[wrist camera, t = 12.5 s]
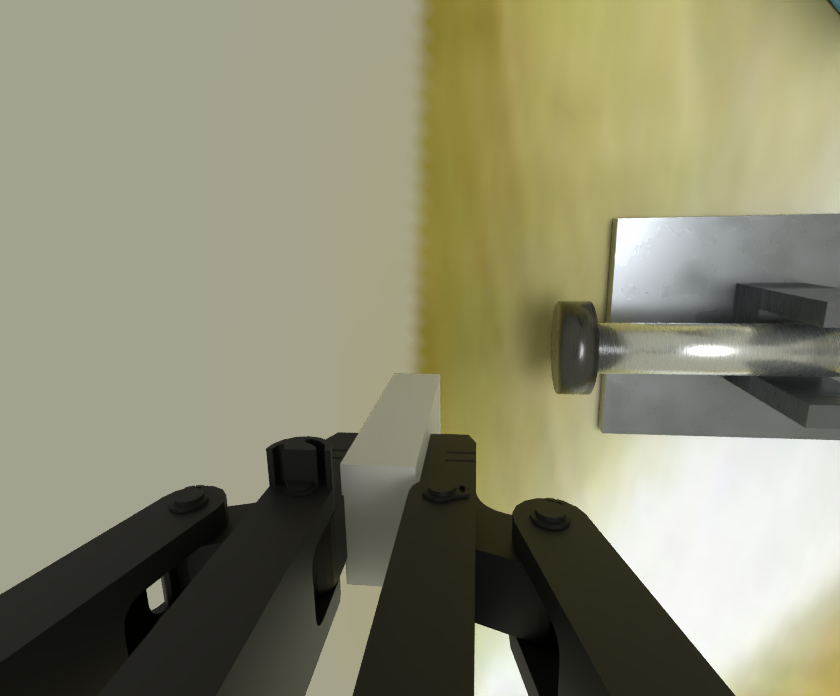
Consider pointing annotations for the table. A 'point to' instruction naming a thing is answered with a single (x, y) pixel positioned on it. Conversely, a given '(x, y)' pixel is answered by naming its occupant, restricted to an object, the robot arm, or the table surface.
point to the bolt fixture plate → (724, 320)
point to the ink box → (836, 4)
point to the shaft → (683, 349)
